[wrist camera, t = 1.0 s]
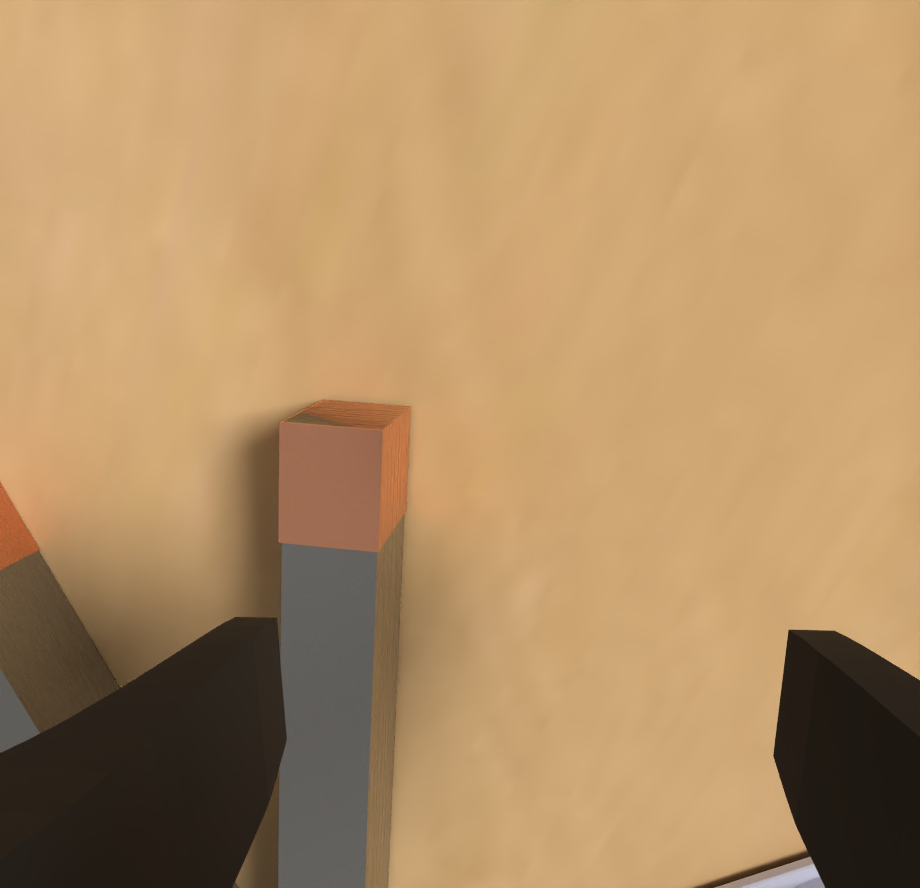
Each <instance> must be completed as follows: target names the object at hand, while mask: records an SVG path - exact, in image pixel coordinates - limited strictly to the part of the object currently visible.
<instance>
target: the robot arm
mask: <svg viewBox="0 0 920 888" xmlns="http://www.w3.org/2000/svg"><path fill="white" fill-rule="evenodd" d="M286 741H287V734H286V722H285V710H284V698H283V687H282V675H281V663H280V651H279V639H278V627H277V618H254V617H235V618H233V619H231V620H229V621H227V622H225V623H223V624H221V625H220V626H218V627H216V628H215V629H213V630H211V631H210V632H208V633H207V634H205V635H204V636H202V637H200V638H199V639H197V640H196V641H194V642H193V643H191V644H189V645H188V646H186V647H185V648H183V649H182V650H180V651H179V652H177V653H176V654H174V655H172V656H171V657H169V658H168V659H166V660H165V661H163V662H161V663H160V664H158V665H157V666H155V667H154V668H152V669H151V670H149V671H147V672H146V673H144V674H143V675H141V676H140V677H138V678H136V679H135V680H133V681H132V682H130V683H128V684H127V685H125V686H123V687H122V688H120V689H118V690H116V691H115V692H113V693H111V694H109V695H108V696H106V697H104V698H103V699H101V700H99V701H97V702H96V703H94V704H92V705H91V706H89V707H87V708H85V709H84V710H82V711H80V712H79V713H77V714H75V715H73V716H72V717H70V718H68V719H67V720H65V721H63V722H61V723H59V724H57V725H55V726H54V727H52V728H50V729H48V730H46V731H44V732H42V733H40V734H38V735H36V736H34V737H32V738H30V739H28V740H26V741H24V742H22V743H20V744H18V745H16V746H14V747H12V748H10V749H7V750H5V751H3V752H1V753H0V888H232V887H233V885H234V882H235V880H236V878H237V876H238V873H239V871H240V869H241V867H242V864H243V862H244V860H245V857H246V855H247V853H248V851H249V848H250V846H251V844H252V841H253V839H254V837H255V834H256V832H257V830H258V827H259V825H260V823H261V821H262V818H263V816H264V813H265V811H266V809H267V806H268V804H269V801H270V797H271V794H272V791H273V787H274V784H275V781H276V777H277V774H278V770H279V767H280V763H281V760H282V756H283V752H284V749H285V745H286ZM773 756H774V759H775V763H776V766H777V769H778V772H779V776H780V779H781V782H782V785H783V789H784V792H785V795H786V798H787V801H788V804H789V807H790V810H791V813H792V816H793V818H794V821H795V824H796V826H797V829H798V831H799V833H800V835H801V837H802V840H803V842H804V844H805V846H806V848H807V850H808V852H809V855H810V857H808V858H804V859H801V860H798V861H795V862H792V863H789V864H786V865H783V866H780V867H777V868H774V869H771V870H767V871H764V872H761V873H758V874H755V875H752V876H749V877H746V878H743V879H740V880H737V881H734V882H730V883H727V884H724V885H721V886H718V887H715V888H920V680H918V679H917V678H915V677H913V676H912V675H910V674H909V673H907V672H905V671H904V670H902V669H900V668H899V667H897V666H896V665H894V664H892V663H891V662H889V661H887V660H886V659H884V658H882V657H881V656H879V655H877V654H876V653H874V652H872V651H871V650H869V649H867V648H866V647H864V646H862V645H861V644H859V643H857V642H855V641H853V640H852V639H850V638H848V637H846V636H844V635H842V634H840V633H838V632H836V631H820V630H789V632H788V640H787V648H786V656H785V664H784V673H783V681H782V689H781V697H780V706H779V714H778V722H777V730H776V738H775V747H774V755H773Z"/></svg>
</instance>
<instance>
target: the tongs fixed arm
mask: <svg viewBox="0 0 920 888" xmlns="http://www.w3.org/2000/svg"><path fill="white" fill-rule="evenodd" d="M38 550H39V548H38V546H37V545H36V543H35V541H34V540H33V538H32V536H31V535H30V533H29V531H28V529H27V528H26V526H25V524H24V523H23V521H22V519H21V518H20V516H19V514H18V513H17V511H16V509H15V508H14V506H13V504H12V502H11V501H10V499H9V497H8V496H7V494H6V492H5V491H4V489H3V487H2V486H1V484H0V753H1V752H3V751H5V750H7V749H10V748H12V747H14V746H16V745H18V744H20V743H22V742H24V741H26V740H28V739H30V738H32V737H34V736H36V735H38V734H40V733H42V732H44V731H46V730H48V729H50V728H52V727H54V726H55V725H57V724H59V723H61V722H63V721H65V720H67V719H68V718H70V717H72V716H73V715H75V714H77V713H79V712H80V711H82V710H84V709H85V708H87V707H89V706H91V705H92V704H94V703H96V702H97V701H99V700H101V699H103V698H104V697H106V696H108V695H109V694H111V693H113V692H115V691H116V690H118V689H120V688H119V686H118V684H117V683H116V681H115V679H114V678H113V676H112V674H111V672H110V671H109V669H108V667H107V666H106V664H105V662H104V661H103V659H102V657H101V656H100V654H99V652H98V650H97V649H96V647H95V645H94V644H93V642H92V640H91V639H90V637H89V635H88V634H87V632H86V630H85V629H84V627H83V625H82V623H81V622H80V620H79V618H78V617H77V615H76V613H75V612H74V610H73V608H72V607H71V605H70V603H69V602H68V600H67V598H66V596H65V595H64V593H63V591H62V590H61V588H60V586H59V585H58V583H57V581H56V580H55V578H54V576H53V574H52V573H51V571H50V569H49V568H48V566H47V564H46V563H45V561H44V559H43V558H42V556H41V554H40V553H39V551H38ZM232 888H238V887H237V885H236V884H235V882H234V885H233V887H232Z"/></svg>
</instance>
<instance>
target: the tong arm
mask: <svg viewBox="0 0 920 888" xmlns="http://www.w3.org/2000/svg"><path fill="white" fill-rule="evenodd" d="M410 419H411V406H399V405H386V404H373V403H360V402H347V401H334V400H322V401H320V402H318V403H316V404H314V405H312V406H310V407H308V408H306V409H304V410H302V411H300V412H298V413H296V414H294V415H292V416H291V417H289V418H287V419H285V420H283V421H281V422H279V518H278V543H282V554H281V650H280V663H281V675H282V687H283V698H284V710H285V722H286V734H287V741H286V745H285V749H284V752H283V756H282V760H281V763H280V767H279V841H278V888H388V876H389V853H390V831H391V808H392V785H393V763H394V740H395V718H396V695H397V672H398V650H399V627H400V604H401V582H402V559H403V537H404V514H405V512H406V508H407V486H408V463H409V441H410Z"/></svg>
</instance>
